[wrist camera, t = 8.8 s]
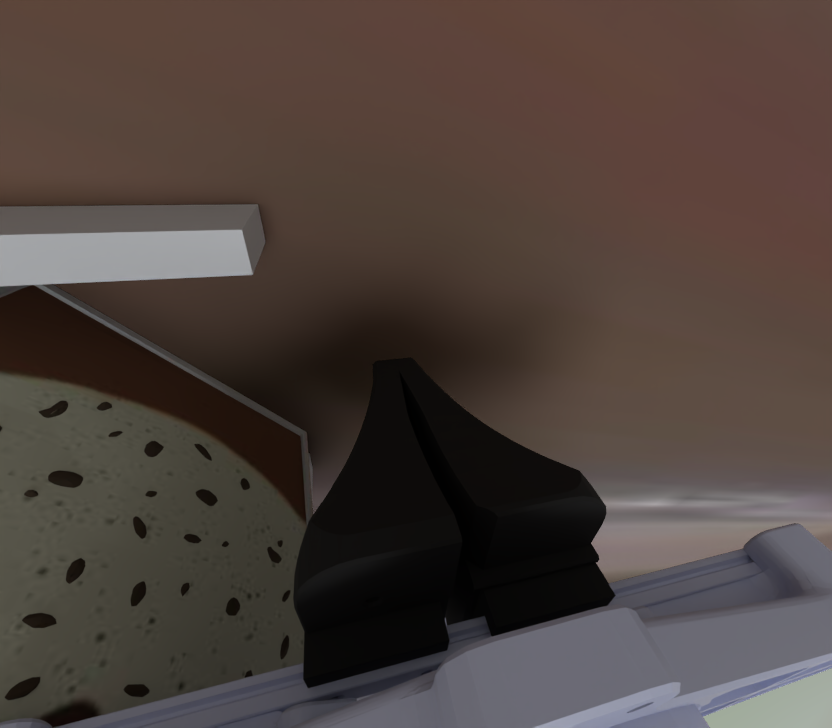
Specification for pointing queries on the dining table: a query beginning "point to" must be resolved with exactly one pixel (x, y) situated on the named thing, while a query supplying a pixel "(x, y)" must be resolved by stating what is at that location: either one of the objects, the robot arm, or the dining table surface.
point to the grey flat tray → (128, 243)
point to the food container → (135, 519)
